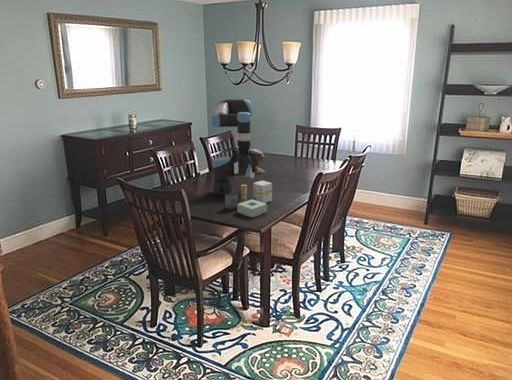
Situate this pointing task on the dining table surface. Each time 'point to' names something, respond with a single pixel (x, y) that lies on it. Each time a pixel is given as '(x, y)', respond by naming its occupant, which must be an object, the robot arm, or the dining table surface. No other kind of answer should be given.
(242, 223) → the dining table surface
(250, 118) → the robot arm
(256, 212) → the socket block
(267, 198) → the ink box
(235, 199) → the dark grey block
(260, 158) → the cherub figurine
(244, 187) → the birch dowel
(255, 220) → the dining table surface
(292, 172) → the dining table surface
